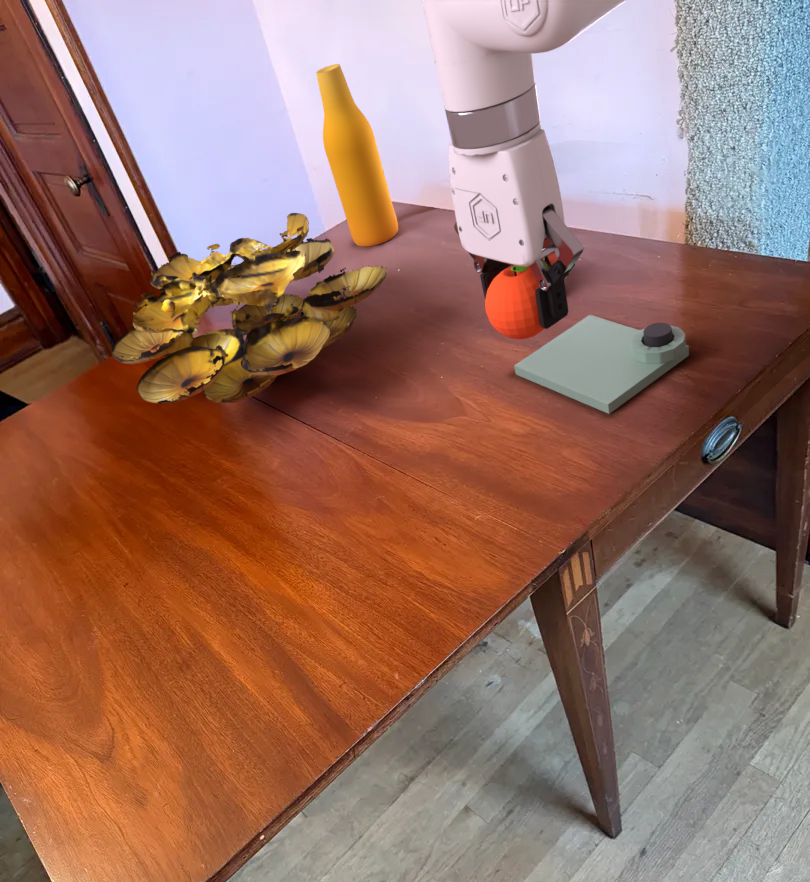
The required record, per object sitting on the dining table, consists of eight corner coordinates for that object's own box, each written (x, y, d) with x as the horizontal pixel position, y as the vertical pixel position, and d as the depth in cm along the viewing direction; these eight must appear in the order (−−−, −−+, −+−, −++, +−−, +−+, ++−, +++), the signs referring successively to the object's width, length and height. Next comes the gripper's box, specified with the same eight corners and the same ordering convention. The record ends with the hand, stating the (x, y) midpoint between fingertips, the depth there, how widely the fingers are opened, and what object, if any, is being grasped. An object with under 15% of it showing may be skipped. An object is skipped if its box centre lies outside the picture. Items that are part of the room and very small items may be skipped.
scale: (695, 354, 91) (696, 332, 89) (612, 415, 86) (610, 394, 84) (593, 321, 102) (591, 301, 100) (515, 374, 98) (511, 354, 96)
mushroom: (340, 273, 136) (307, 176, 125) (447, 368, 103) (416, 247, 91) (131, 368, 131) (76, 275, 119) (173, 500, 98) (103, 389, 86)
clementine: (528, 306, 79) (517, 241, 74) (581, 317, 74) (573, 248, 70) (478, 345, 76) (463, 279, 71) (531, 358, 71) (519, 290, 67)
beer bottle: (347, 250, 143) (294, 83, 124) (361, 229, 149) (312, 66, 130) (392, 243, 140) (344, 70, 120) (404, 222, 146) (360, 54, 127)
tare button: (677, 338, 89) (677, 326, 88) (659, 350, 88) (659, 339, 87) (656, 331, 92) (655, 320, 91) (638, 344, 91) (637, 332, 90)
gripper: (398, 132, 67) (444, 312, 79) (534, 144, 55) (564, 354, 67) (460, 99, 69) (496, 279, 81) (604, 104, 57) (621, 314, 69)
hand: (526, 311), depth 74 cm, fingers closed on clementine, 7 cm apart
